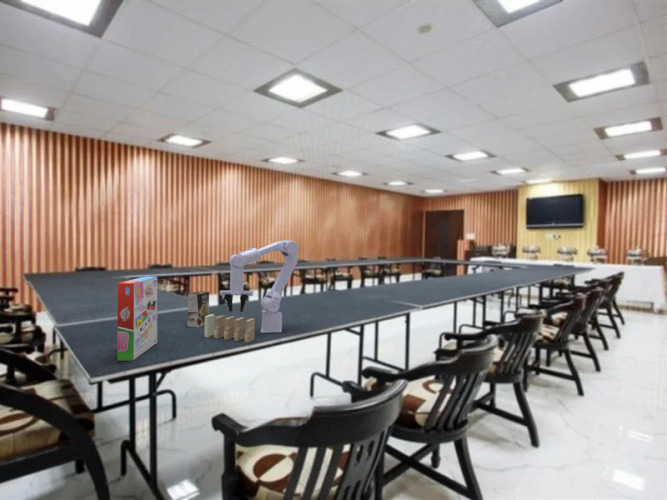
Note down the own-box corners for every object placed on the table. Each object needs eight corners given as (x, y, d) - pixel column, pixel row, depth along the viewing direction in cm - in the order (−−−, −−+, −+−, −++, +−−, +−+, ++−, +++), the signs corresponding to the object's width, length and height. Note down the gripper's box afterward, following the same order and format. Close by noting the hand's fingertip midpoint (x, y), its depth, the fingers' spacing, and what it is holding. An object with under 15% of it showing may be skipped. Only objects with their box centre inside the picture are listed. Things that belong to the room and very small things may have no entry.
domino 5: (254, 339, 153) (254, 318, 153) (248, 342, 148) (248, 321, 148) (251, 339, 153) (251, 318, 153) (244, 342, 149) (245, 320, 148)
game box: (143, 343, 143) (144, 276, 142) (157, 343, 144) (158, 276, 143) (116, 361, 123) (117, 282, 122) (133, 361, 123) (133, 282, 122)
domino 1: (214, 334, 159) (215, 314, 159) (207, 337, 154) (207, 316, 154) (211, 334, 160) (212, 314, 159) (204, 336, 155) (204, 316, 155)
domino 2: (224, 335, 158) (224, 315, 157) (217, 338, 153) (217, 317, 153) (221, 335, 158) (221, 315, 158) (214, 338, 153) (214, 317, 153)
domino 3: (234, 336, 156) (234, 316, 156) (227, 339, 151) (227, 318, 151) (230, 336, 157) (231, 316, 156) (224, 339, 152) (224, 318, 152)
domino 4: (244, 338, 154) (244, 317, 154) (237, 341, 150) (237, 319, 149) (240, 337, 155) (241, 317, 155) (234, 340, 150) (234, 319, 150)
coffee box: (198, 327, 170) (199, 294, 170) (186, 326, 172) (187, 293, 171) (209, 323, 179) (209, 291, 179) (197, 322, 180) (198, 290, 180)
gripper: (254, 280, 163) (254, 310, 164) (223, 279, 163) (222, 309, 163) (251, 282, 156) (251, 313, 157) (218, 281, 156) (217, 312, 156)
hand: (236, 311), depth 160 cm, fingers open, 4 cm apart
